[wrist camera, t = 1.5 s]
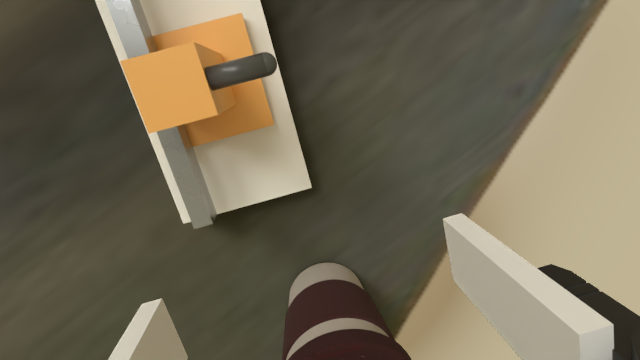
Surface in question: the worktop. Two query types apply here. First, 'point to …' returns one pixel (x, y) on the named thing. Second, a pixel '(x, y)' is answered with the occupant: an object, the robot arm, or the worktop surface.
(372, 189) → the worktop surface
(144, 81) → the plug
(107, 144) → the worktop surface
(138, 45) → the grey metal rod
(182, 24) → the socket block
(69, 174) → the worktop surface
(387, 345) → the coffee cup
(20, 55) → the worktop surface
